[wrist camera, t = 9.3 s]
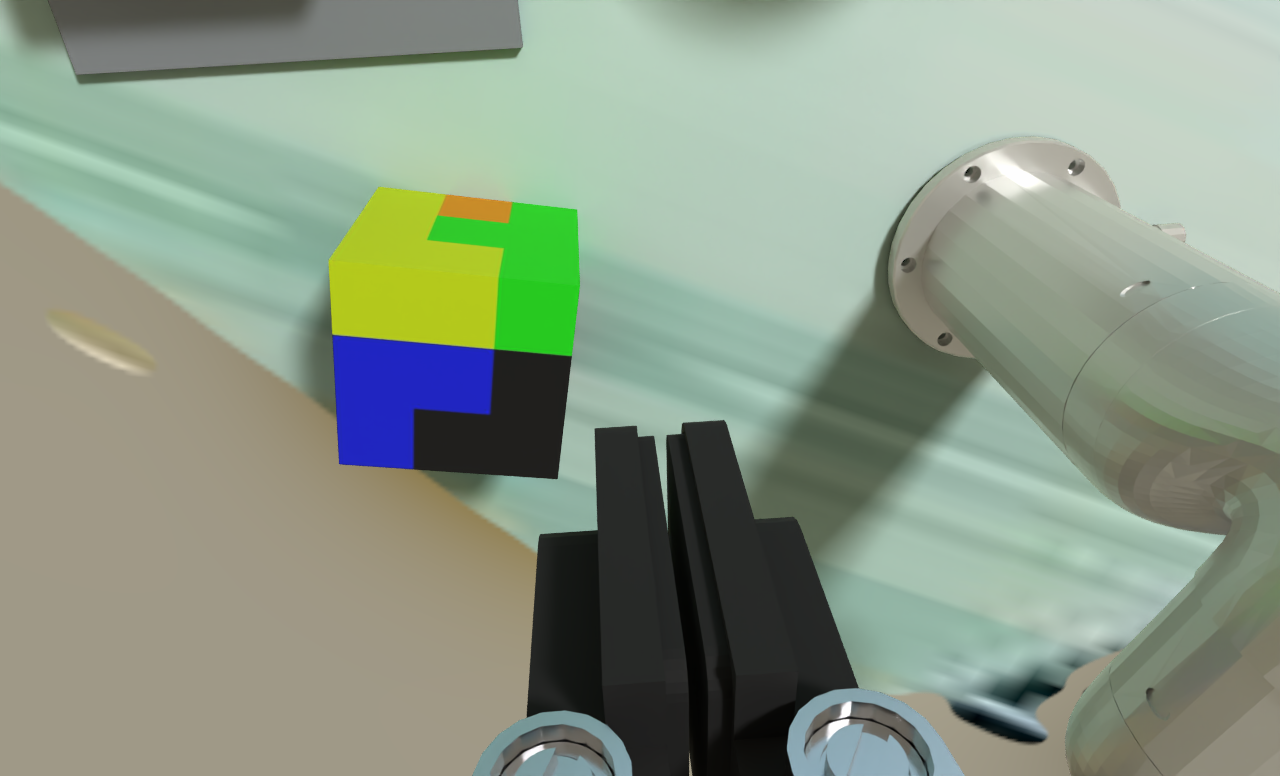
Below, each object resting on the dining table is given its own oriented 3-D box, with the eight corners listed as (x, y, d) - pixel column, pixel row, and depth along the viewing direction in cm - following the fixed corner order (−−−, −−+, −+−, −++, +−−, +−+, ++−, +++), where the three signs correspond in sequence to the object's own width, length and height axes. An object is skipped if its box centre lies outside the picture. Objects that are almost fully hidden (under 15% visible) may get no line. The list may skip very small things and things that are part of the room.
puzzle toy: (382, 360, 45) (339, 464, 37) (379, 186, 40) (328, 259, 32) (559, 375, 47) (557, 479, 38) (577, 209, 42) (579, 285, 33)
